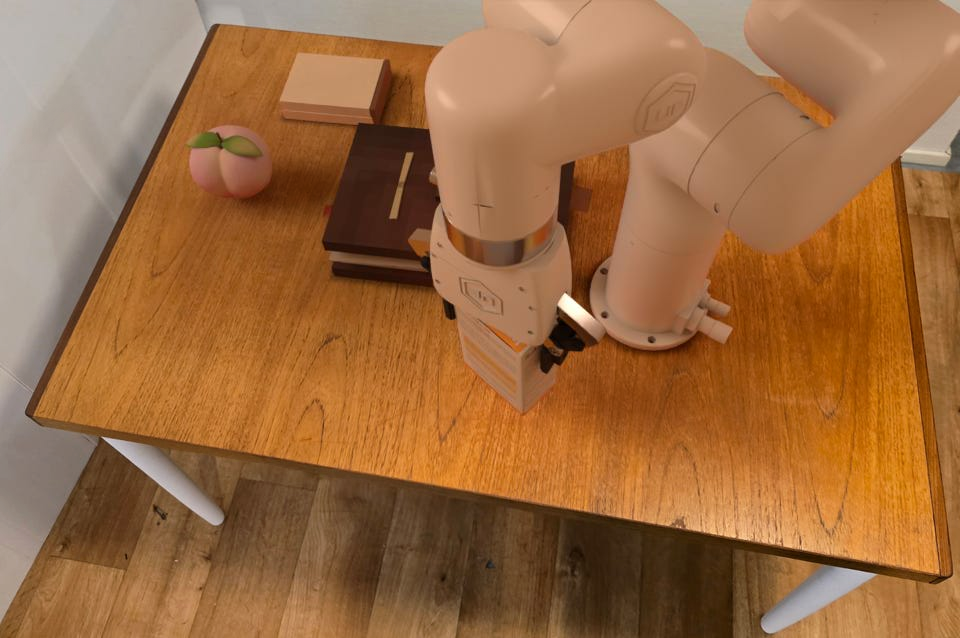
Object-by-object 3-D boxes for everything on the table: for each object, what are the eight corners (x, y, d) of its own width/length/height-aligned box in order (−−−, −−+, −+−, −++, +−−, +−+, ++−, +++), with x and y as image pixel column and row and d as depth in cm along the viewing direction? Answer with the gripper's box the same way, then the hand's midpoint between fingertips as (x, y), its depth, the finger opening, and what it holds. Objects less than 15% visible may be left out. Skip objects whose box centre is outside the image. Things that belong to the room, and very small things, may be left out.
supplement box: (558, 384, 71) (564, 319, 59) (522, 419, 69) (522, 359, 58) (496, 331, 74) (491, 259, 62) (461, 362, 72) (449, 295, 61)
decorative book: (339, 107, 86) (600, 131, 83) (351, 152, 92) (593, 176, 90) (294, 243, 77) (586, 275, 74) (311, 282, 83) (579, 313, 80)
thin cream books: (392, 77, 99) (389, 59, 96) (378, 127, 94) (374, 109, 92) (303, 69, 100) (297, 51, 97) (285, 118, 96) (278, 101, 93)
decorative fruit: (290, 164, 92) (267, 104, 83) (276, 217, 88) (251, 160, 79) (215, 162, 92) (185, 102, 84) (199, 215, 88) (165, 158, 80)
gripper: (360, 194, 50) (398, 318, 65) (588, 315, 44) (571, 418, 60) (425, 122, 52) (446, 256, 68) (646, 227, 47) (616, 347, 62)
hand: (505, 332), depth 64 cm, fingers closed on supplement box, 9 cm apart
